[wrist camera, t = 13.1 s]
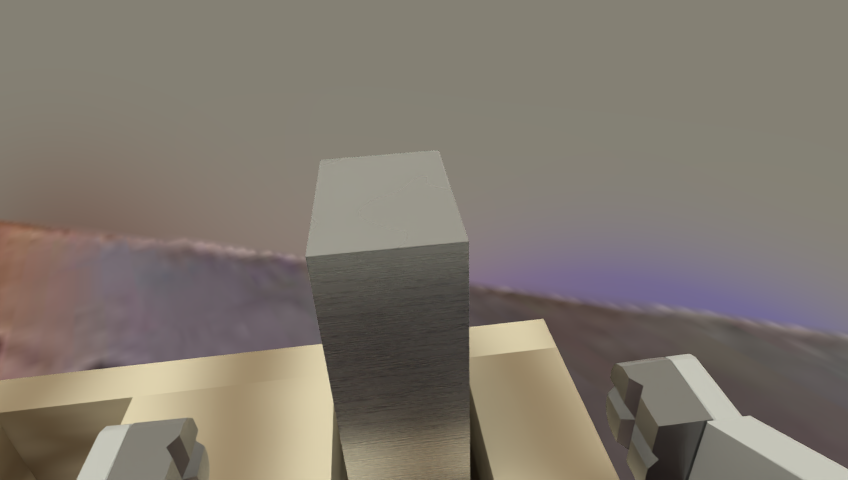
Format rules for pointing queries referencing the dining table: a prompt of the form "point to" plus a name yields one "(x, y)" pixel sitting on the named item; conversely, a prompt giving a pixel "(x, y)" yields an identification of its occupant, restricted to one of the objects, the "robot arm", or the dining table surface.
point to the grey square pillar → (393, 314)
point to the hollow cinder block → (302, 413)
